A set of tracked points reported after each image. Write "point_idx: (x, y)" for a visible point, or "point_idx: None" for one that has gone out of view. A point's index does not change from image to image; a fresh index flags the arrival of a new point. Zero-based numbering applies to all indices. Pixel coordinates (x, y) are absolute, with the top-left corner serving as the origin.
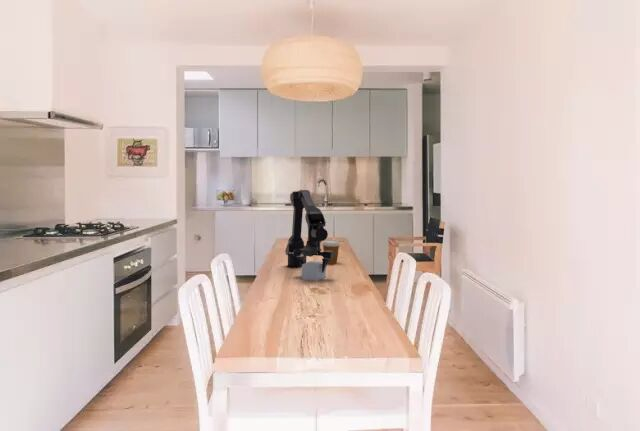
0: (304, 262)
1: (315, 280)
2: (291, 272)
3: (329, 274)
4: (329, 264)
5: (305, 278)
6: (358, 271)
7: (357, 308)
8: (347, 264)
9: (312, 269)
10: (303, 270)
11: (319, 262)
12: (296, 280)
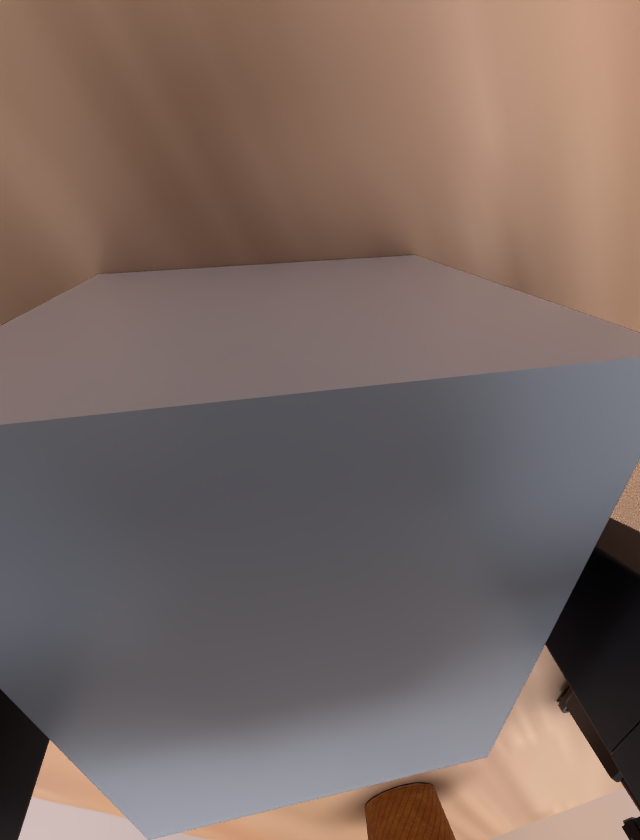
0: (604, 620)
1: (136, 272)
2: None
3: None
4: (397, 788)
5: (353, 263)
6: (94, 800)
7: None
8: (299, 829)
9: (167, 333)
10: (472, 293)
11: (245, 776)
12: (488, 118)
